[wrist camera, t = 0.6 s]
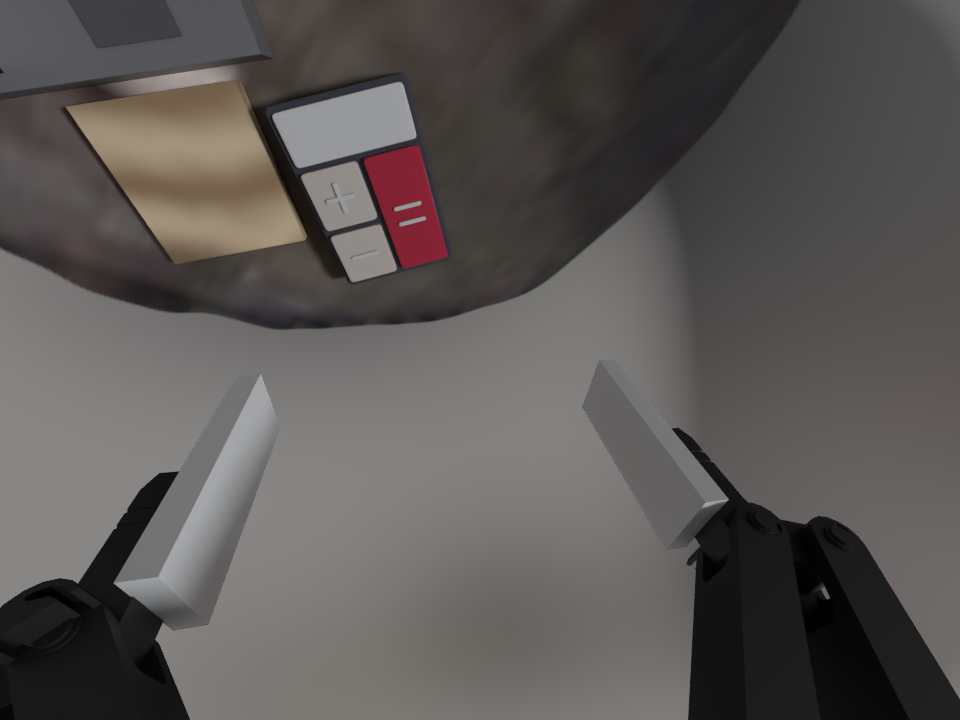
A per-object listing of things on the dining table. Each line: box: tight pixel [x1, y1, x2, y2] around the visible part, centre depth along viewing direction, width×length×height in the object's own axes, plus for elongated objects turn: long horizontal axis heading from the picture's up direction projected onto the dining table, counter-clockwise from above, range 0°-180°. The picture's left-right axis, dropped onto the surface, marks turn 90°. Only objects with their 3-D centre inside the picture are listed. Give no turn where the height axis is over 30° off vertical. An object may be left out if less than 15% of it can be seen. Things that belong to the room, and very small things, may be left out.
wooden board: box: [66, 81, 307, 264], centre depth 30 cm, size 12×12×1 cm
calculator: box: [265, 73, 453, 285], centre depth 32 cm, size 11×4×15 cm
